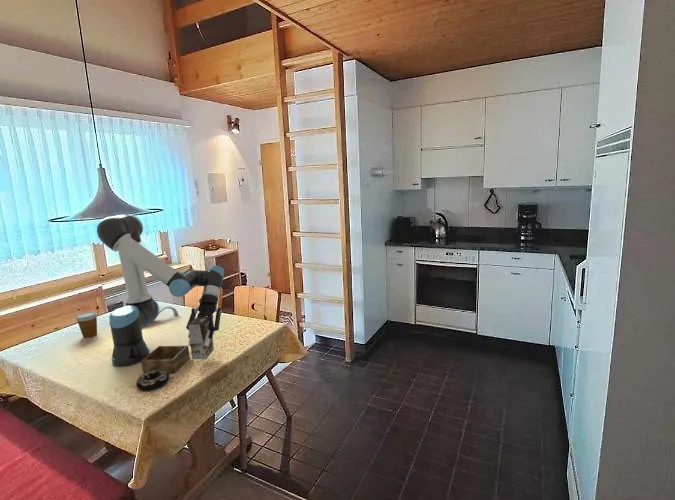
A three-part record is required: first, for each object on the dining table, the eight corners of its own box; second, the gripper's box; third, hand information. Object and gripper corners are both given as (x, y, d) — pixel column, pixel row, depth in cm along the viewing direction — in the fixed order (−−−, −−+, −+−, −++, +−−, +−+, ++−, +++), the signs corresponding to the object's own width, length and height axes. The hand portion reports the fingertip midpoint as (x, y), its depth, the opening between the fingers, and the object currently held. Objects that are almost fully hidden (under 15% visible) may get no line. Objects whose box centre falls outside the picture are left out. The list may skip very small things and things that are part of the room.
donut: (173, 375, 151) (171, 366, 151) (164, 390, 140) (163, 381, 139) (143, 378, 150) (141, 369, 149) (132, 395, 138) (130, 385, 138)
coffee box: (206, 359, 156) (202, 324, 153) (191, 359, 156) (187, 324, 153) (214, 349, 165) (210, 316, 162) (200, 349, 165) (196, 316, 162)
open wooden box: (143, 373, 153) (141, 360, 152) (160, 358, 166) (159, 346, 165) (174, 373, 152) (172, 360, 151) (189, 357, 165) (188, 345, 164)
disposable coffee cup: (75, 339, 193) (70, 317, 190) (90, 331, 202) (87, 311, 199) (89, 340, 190) (85, 318, 188) (105, 332, 199) (101, 311, 197)
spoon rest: (138, 329, 202) (136, 317, 200) (131, 324, 210) (129, 312, 208) (181, 316, 219) (179, 305, 217) (172, 312, 227) (171, 301, 225)
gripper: (233, 300, 171) (223, 348, 158) (193, 300, 172) (180, 348, 160) (228, 293, 165) (217, 342, 152) (186, 293, 166) (172, 342, 153)
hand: (198, 345), depth 156 cm, fingers closed on coffee box, 6 cm apart
